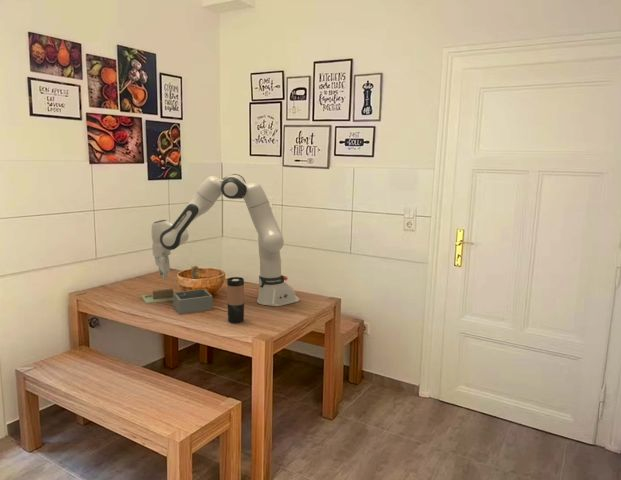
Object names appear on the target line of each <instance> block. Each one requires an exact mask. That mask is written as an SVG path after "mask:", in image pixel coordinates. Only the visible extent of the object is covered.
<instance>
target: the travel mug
mask: <svg viewBox="0 0 621 480" xmlns="http://www.w3.org/2000/svg"><path fill="white" fill-rule="evenodd" d="M244 282H245V279H244V278H243V277H239V276H233V277H229V278H227V279H226V284H227V287H226V288H227V291H226V292H227V296H226V297H227V299H226V301H227V304H226V305H227V319H228V320H227V321H228V322H229V323H230V324H241V323H243V322H244V320H245V285H244V284H245V283H244Z"/></svg>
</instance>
